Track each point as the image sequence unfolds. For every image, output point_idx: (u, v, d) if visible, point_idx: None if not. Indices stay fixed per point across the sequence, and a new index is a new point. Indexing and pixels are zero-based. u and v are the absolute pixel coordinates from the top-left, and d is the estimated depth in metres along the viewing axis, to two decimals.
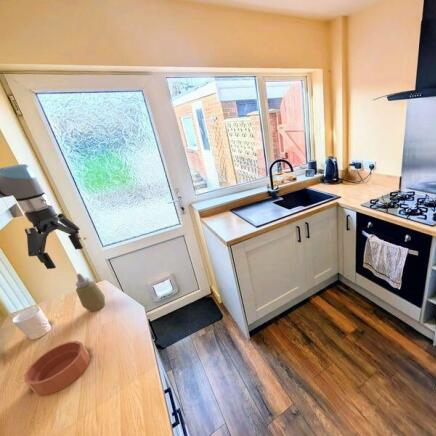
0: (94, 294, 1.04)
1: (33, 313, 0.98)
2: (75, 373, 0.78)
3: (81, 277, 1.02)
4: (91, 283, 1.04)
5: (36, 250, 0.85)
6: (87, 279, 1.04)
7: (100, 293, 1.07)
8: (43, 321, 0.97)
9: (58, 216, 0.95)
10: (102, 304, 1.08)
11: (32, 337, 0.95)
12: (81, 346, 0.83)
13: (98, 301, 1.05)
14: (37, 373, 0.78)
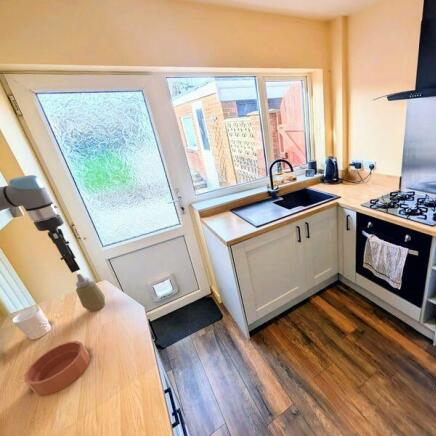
0: (94, 294, 1.04)
1: (33, 313, 0.98)
2: (75, 373, 0.78)
3: (81, 277, 1.02)
4: (91, 283, 1.04)
5: (69, 251, 0.90)
6: (87, 279, 1.04)
7: (100, 293, 1.07)
8: (43, 321, 0.97)
9: None
10: (102, 304, 1.08)
11: (32, 337, 0.95)
12: (81, 346, 0.83)
13: (98, 301, 1.05)
14: (37, 373, 0.78)
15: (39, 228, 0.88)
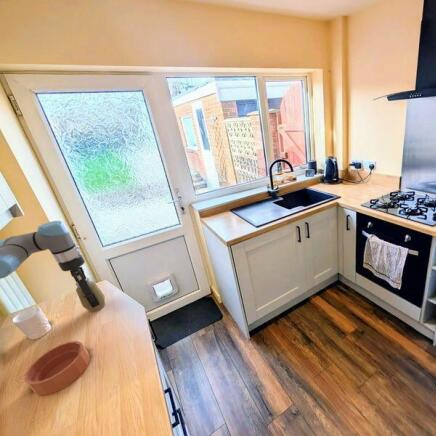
0: (94, 294, 1.04)
1: (33, 313, 0.98)
2: (75, 373, 0.78)
3: None
4: (91, 283, 1.04)
5: (91, 290, 1.00)
6: (87, 279, 1.04)
7: (100, 293, 1.07)
8: (43, 321, 0.97)
9: None
10: (102, 304, 1.08)
11: (32, 337, 0.95)
12: (81, 346, 0.83)
13: (98, 301, 1.05)
14: (37, 373, 0.78)
15: (63, 269, 0.96)
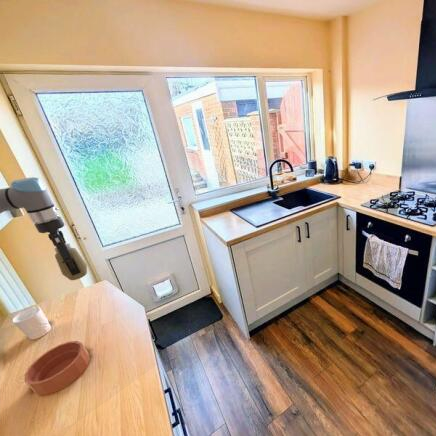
0: None
1: (33, 313, 0.98)
2: (75, 373, 0.78)
3: None
4: (72, 249, 0.97)
5: (70, 255, 0.93)
6: (67, 244, 0.96)
7: (82, 261, 1.00)
8: (43, 321, 0.97)
9: None
10: (84, 273, 1.01)
11: (32, 337, 0.95)
12: (81, 346, 0.83)
13: (79, 269, 0.98)
14: (37, 373, 0.78)
15: (40, 230, 0.89)
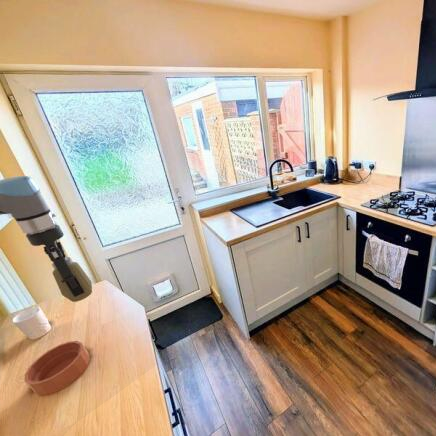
0: (77, 278, 0.79)
1: (33, 313, 0.98)
2: (75, 373, 0.78)
3: None
4: (73, 264, 0.79)
5: (72, 273, 0.75)
6: (68, 259, 0.78)
7: (85, 278, 0.82)
8: (43, 321, 0.97)
9: None
10: (88, 292, 0.83)
11: (32, 337, 0.95)
12: (81, 346, 0.83)
13: None
14: (37, 373, 0.78)
15: (33, 242, 0.70)
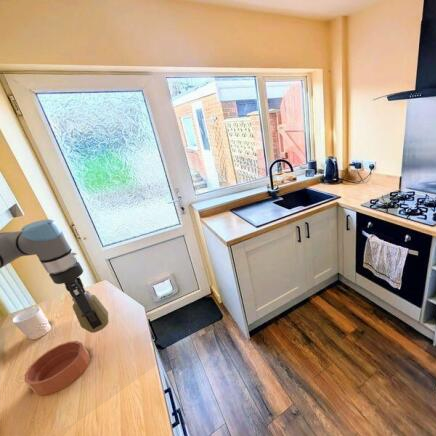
0: (95, 311, 0.83)
1: (33, 313, 0.98)
2: (75, 373, 0.78)
3: None
4: (92, 298, 0.84)
5: (91, 308, 0.79)
6: (86, 293, 0.83)
7: (103, 310, 0.86)
8: (43, 321, 0.97)
9: None
10: (105, 323, 0.87)
11: (32, 337, 0.95)
12: (81, 346, 0.83)
13: (100, 320, 0.85)
14: (37, 373, 0.78)
15: (56, 281, 0.75)
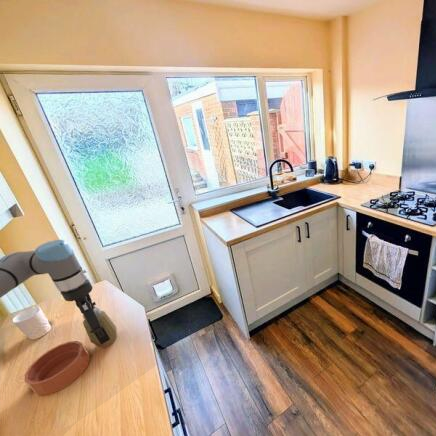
0: (104, 327, 0.86)
1: (33, 313, 0.98)
2: (75, 373, 0.78)
3: None
4: (101, 314, 0.87)
5: (100, 323, 0.80)
6: (96, 309, 0.86)
7: (111, 325, 0.89)
8: (43, 321, 0.97)
9: None
10: (114, 338, 0.90)
11: (32, 337, 0.95)
12: (81, 346, 0.83)
13: (109, 335, 0.88)
14: (37, 373, 0.78)
15: (67, 299, 0.78)
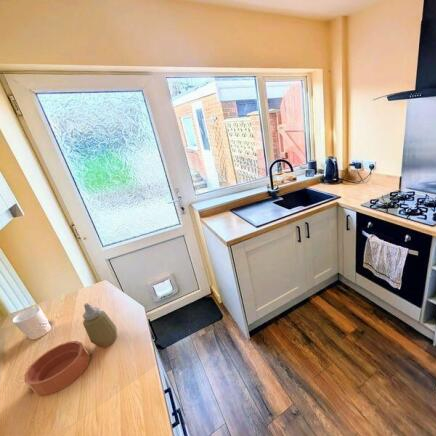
0: (104, 327, 0.86)
1: (33, 313, 0.98)
2: (75, 373, 0.78)
3: (89, 308, 0.84)
4: (101, 314, 0.87)
5: None
6: (96, 309, 0.86)
7: (111, 325, 0.89)
8: (43, 321, 0.97)
9: None
10: (114, 338, 0.90)
11: (32, 337, 0.95)
12: (81, 346, 0.83)
13: (109, 335, 0.88)
14: (37, 373, 0.78)
15: None
